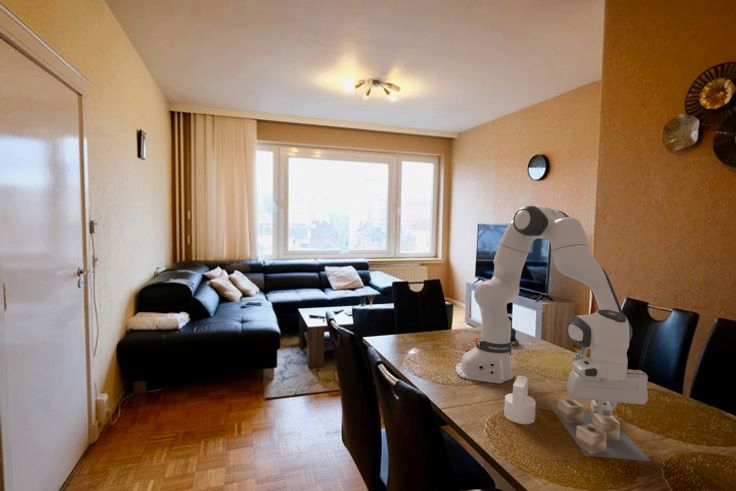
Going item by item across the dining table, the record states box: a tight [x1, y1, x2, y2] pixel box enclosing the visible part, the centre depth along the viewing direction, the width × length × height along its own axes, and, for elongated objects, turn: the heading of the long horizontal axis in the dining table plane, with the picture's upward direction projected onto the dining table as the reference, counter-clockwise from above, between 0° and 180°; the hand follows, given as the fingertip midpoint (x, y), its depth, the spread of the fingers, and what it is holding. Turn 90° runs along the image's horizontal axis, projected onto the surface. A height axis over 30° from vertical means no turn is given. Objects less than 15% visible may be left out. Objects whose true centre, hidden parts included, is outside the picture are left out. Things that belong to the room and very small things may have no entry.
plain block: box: [592, 413, 621, 441], centre depth 108 cm, size 5×5×5 cm
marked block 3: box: [575, 423, 607, 454], centre depth 102 cm, size 5×5×5 cm
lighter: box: [572, 347, 590, 362], centre depth 162 cm, size 7×2×8 cm, turn 109°
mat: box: [553, 409, 652, 462], centre depth 110 cm, size 16×24×1 cm, turn 172°
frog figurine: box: [510, 325, 520, 347], centre depth 192 cm, size 18×18×12 cm
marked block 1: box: [557, 398, 585, 423], centre depth 117 cm, size 5×5×5 cm
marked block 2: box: [589, 400, 614, 420], centre depth 117 cm, size 5×5×5 cm
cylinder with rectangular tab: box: [503, 375, 537, 425], centre depth 118 cm, size 9×9×12 cm
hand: (604, 414), depth 108 cm, fingers closed
